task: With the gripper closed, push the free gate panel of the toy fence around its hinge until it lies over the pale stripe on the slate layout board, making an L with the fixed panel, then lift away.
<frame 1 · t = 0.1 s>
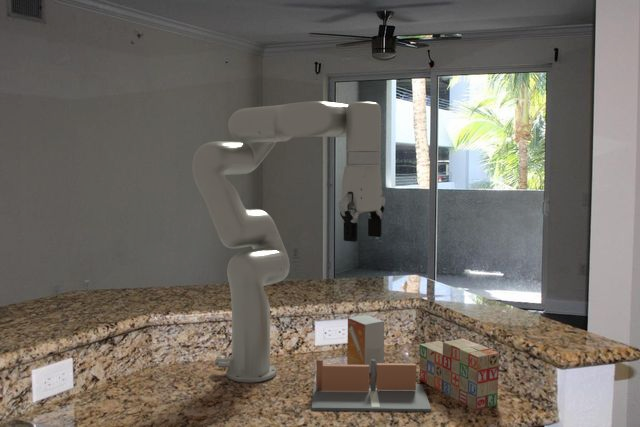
hand: (362, 238, 143), 37 cm above the countertop, tool pointing down, fingers open, 9 cm apart
small box: (365, 368, 171), on the countertop
hinged fence panel: (393, 375, 152), point 4 cm above the countertop, hinge at 0.0°
stack of blocks: (456, 393, 154), on the countertop
fixed fence panel: (373, 393, 153), resting on layout board
layout board: (369, 398, 150), on the countertop
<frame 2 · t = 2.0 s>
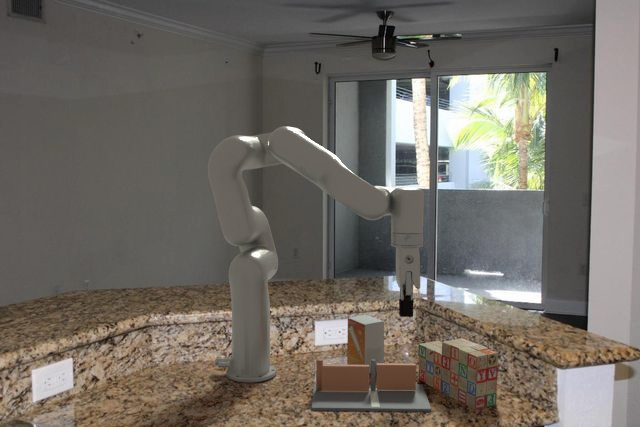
hand: (406, 315, 156), 17 cm above the countertop, tool pointing down, fingers closed
nothing on the countertop moved.
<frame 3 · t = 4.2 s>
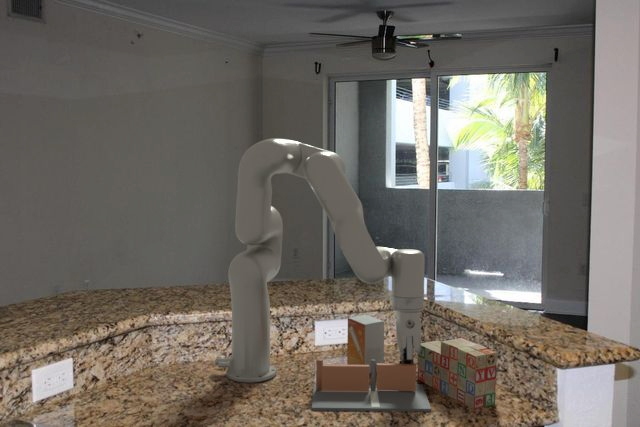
hand: (406, 378, 155), 3 cm above the countertop, tool pointing down, fingers closed
hinged fence panel: (393, 375, 152), point 4 cm above the countertop, hinge at 2.5°, touching gripper
everything else where it was.
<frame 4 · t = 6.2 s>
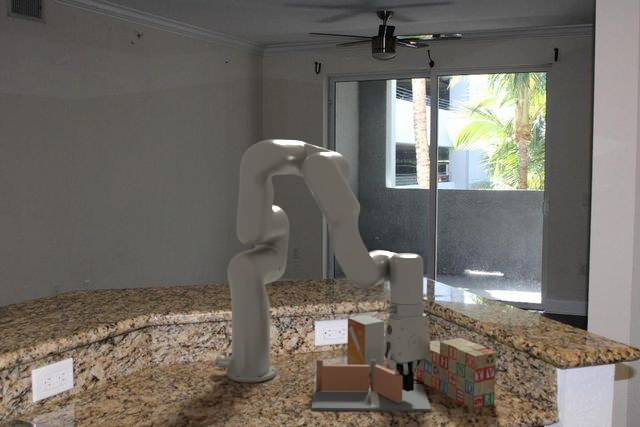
hand: (406, 389, 147), 3 cm above the countertop, tool pointing down, fingers closed
hinged fence panel: (385, 381, 148), point 4 cm above the countertop, hinge at 56.1°, touching gripper
everything else where it was.
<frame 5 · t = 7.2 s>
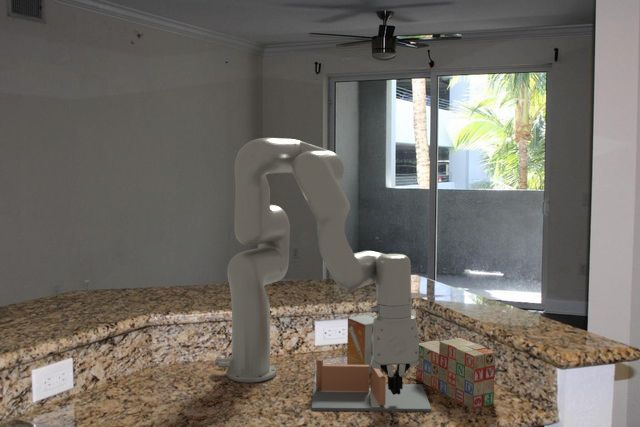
hand: (395, 392, 145), 3 cm above the countertop, tool pointing down, fingers closed
hinged fence panel: (377, 382, 148), point 4 cm above the countertop, hinge at 81.2°, touching gripper
everything else where it was.
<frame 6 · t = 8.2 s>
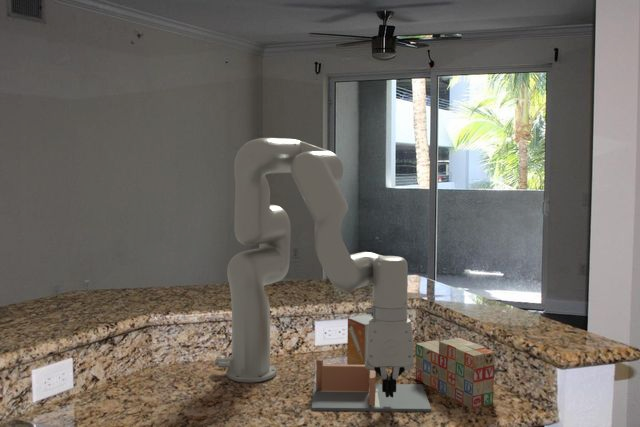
hand: (389, 394, 144), 3 cm above the countertop, tool pointing down, fingers closed
hinged fence panel: (372, 382, 148), point 4 cm above the countertop, hinge at 94.7°
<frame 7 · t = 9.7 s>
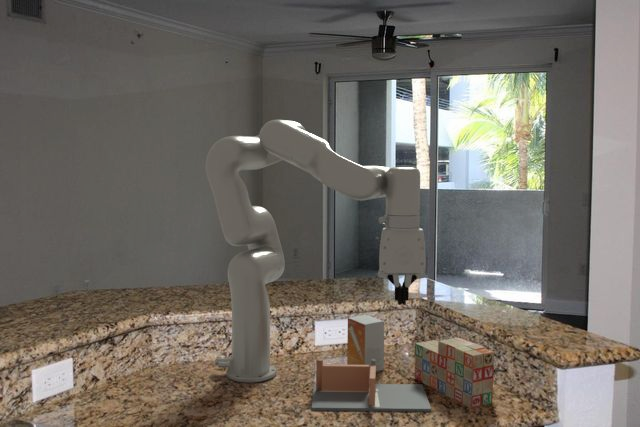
hand: (401, 303, 147), 22 cm above the countertop, tool pointing down, fingers closed
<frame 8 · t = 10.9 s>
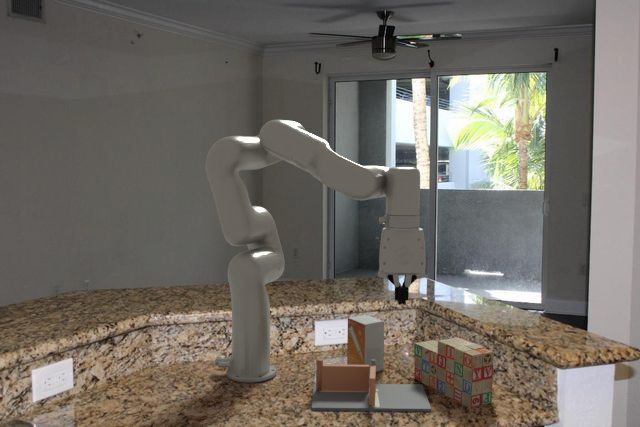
hand: (401, 303, 147), 22 cm above the countertop, tool pointing down, fingers closed
at the end: hinged fence panel at +95° (first picture: +0°) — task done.
